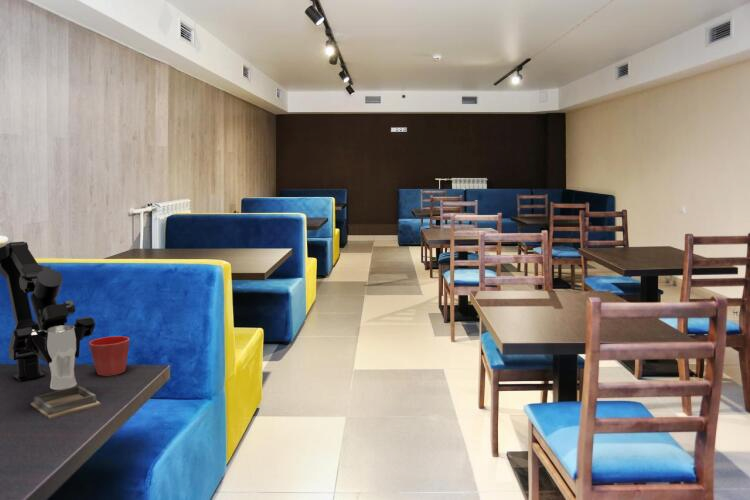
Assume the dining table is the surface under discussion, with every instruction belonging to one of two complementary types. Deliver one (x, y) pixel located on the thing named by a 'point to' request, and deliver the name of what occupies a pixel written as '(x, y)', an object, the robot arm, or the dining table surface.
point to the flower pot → (110, 354)
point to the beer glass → (61, 355)
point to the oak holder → (64, 401)
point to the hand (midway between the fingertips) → (63, 360)
